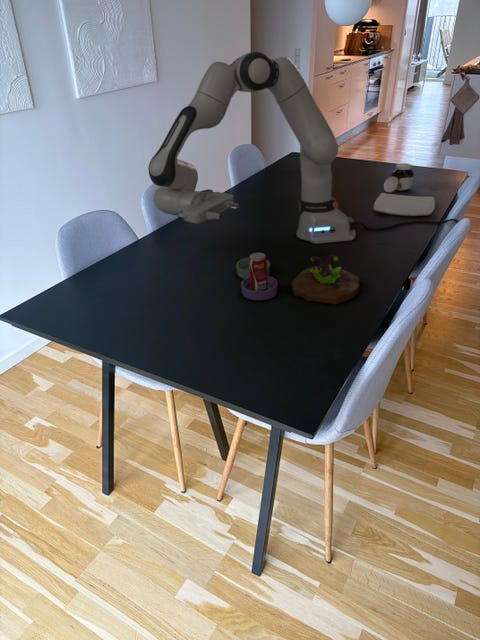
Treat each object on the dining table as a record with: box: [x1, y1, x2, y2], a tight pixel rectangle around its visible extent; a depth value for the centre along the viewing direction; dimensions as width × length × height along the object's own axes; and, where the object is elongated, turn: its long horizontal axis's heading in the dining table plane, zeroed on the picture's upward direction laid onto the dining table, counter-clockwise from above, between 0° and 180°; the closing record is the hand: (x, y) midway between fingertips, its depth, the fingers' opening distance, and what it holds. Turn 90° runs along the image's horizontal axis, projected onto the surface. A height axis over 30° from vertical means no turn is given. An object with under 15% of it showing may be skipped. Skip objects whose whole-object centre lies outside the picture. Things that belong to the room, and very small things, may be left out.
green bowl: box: [235, 257, 271, 280], centre depth 157 cm, size 11×11×3 cm
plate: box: [373, 192, 436, 217], centre depth 203 cm, size 24×24×3 cm
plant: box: [291, 254, 362, 305], centre depth 144 cm, size 20×20×11 cm
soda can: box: [249, 252, 268, 291], centre depth 143 cm, size 5×5×12 cm
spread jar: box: [383, 162, 415, 194], centre depth 222 cm, size 12×11×12 cm
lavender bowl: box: [240, 275, 278, 301], centre depth 146 cm, size 11×11×3 cm
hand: (228, 211), depth 151 cm, fingers open, 8 cm apart
